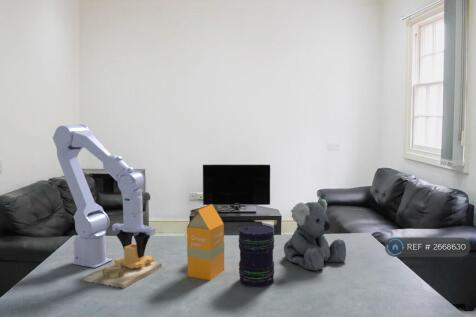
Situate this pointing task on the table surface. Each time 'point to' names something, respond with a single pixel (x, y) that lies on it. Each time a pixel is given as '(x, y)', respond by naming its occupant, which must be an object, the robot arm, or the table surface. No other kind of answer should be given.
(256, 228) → the storage jar
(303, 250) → the koala plush
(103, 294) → the table surface
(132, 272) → the carrier plate
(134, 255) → the gear
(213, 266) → the orange juice
